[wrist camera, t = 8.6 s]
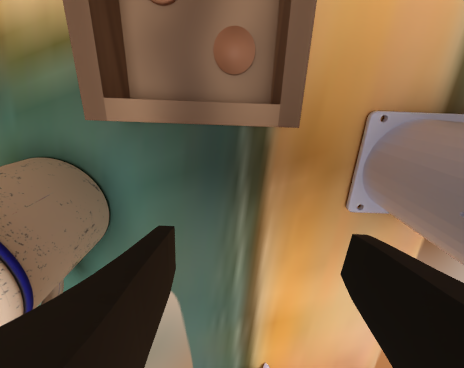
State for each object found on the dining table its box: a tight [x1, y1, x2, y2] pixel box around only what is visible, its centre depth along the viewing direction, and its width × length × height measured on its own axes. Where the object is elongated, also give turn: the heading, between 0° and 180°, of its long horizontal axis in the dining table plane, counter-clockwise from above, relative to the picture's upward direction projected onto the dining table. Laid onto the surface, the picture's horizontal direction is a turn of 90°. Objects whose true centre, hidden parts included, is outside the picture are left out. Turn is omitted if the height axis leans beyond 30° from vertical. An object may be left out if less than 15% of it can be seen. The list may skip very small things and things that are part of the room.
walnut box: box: [63, 0, 317, 128], centre depth 12 cm, size 12×12×4 cm
